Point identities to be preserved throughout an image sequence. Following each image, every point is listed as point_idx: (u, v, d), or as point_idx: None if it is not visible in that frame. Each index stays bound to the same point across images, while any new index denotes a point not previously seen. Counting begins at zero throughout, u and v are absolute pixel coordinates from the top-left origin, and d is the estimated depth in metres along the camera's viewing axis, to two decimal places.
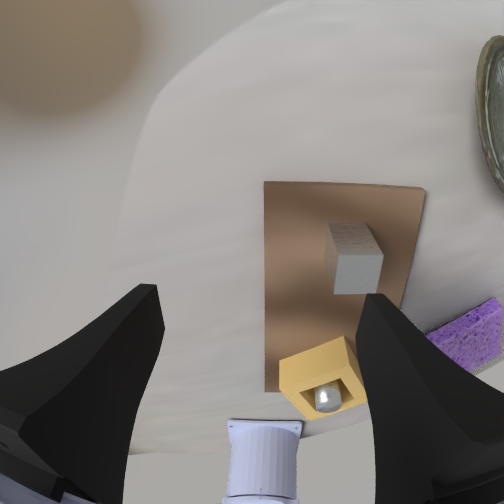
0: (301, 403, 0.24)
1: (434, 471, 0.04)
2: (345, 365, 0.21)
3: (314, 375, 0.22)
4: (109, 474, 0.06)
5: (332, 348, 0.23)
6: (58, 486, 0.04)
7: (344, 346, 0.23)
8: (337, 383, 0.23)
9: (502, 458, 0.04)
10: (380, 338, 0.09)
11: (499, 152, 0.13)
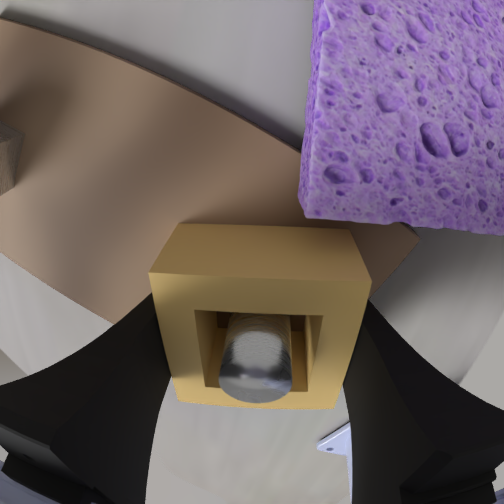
0: None
1: (402, 478, 0.04)
2: None
3: (165, 342, 0.09)
4: (133, 480, 0.06)
5: None
6: (86, 497, 0.04)
7: None
8: (253, 314, 0.09)
9: (476, 467, 0.04)
10: None
11: None
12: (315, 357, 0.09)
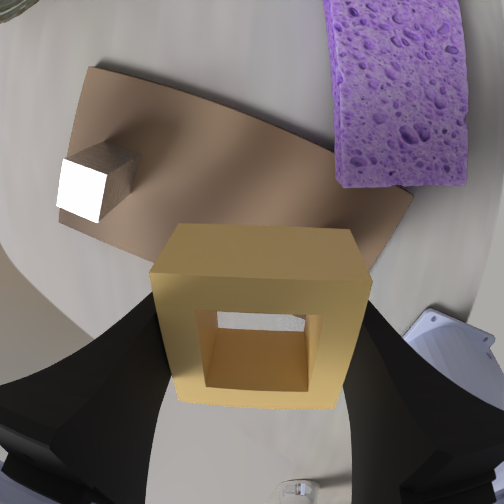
0: (251, 398, 0.10)
1: (402, 477, 0.04)
2: None
3: (166, 343, 0.09)
4: (133, 480, 0.06)
5: None
6: (86, 497, 0.04)
7: None
8: None
9: (476, 467, 0.04)
10: (357, 339, 0.09)
11: None
12: (316, 357, 0.09)
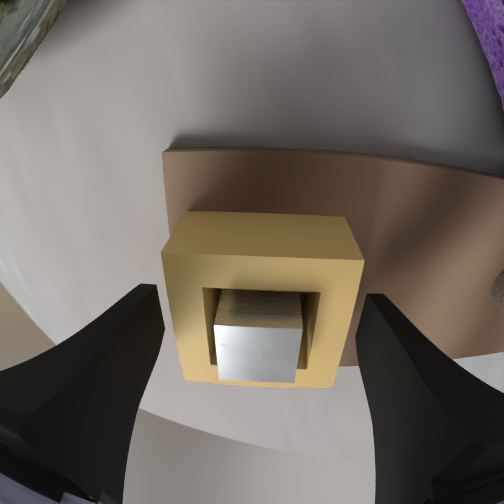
0: None
1: (434, 471, 0.04)
2: (166, 259, 0.09)
3: (174, 321, 0.10)
4: (109, 474, 0.06)
5: None
6: (58, 486, 0.04)
7: None
8: None
9: (502, 458, 0.04)
10: (380, 338, 0.09)
11: (11, 46, 0.06)
12: (314, 334, 0.10)
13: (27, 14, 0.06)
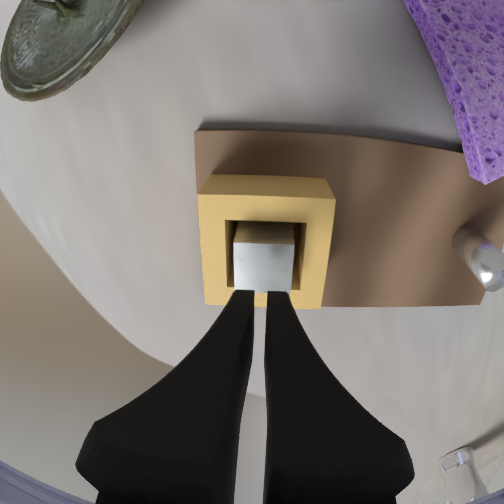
0: (259, 296, 0.15)
1: None
2: (200, 200, 0.13)
3: (202, 250, 0.14)
4: (231, 497, 0.06)
5: None
6: None
7: None
8: (478, 244, 0.14)
9: (354, 494, 0.04)
10: (268, 338, 0.09)
11: (87, 43, 0.10)
12: (303, 257, 0.14)
13: (98, 21, 0.10)
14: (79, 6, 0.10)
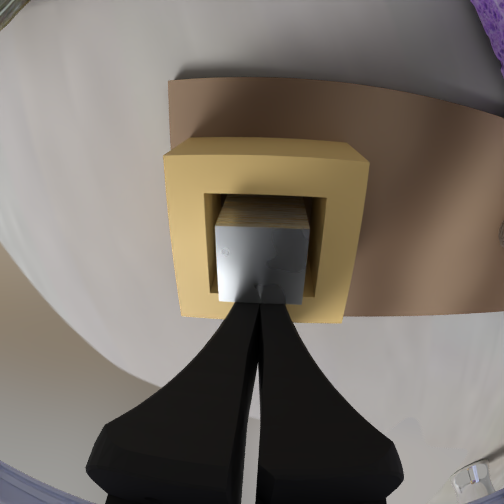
0: None
1: None
2: (168, 165, 0.09)
3: (173, 240, 0.10)
4: (240, 497, 0.06)
5: None
6: None
7: None
8: None
9: (342, 495, 0.04)
10: (260, 338, 0.09)
11: None
12: (321, 250, 0.10)
13: None
14: None
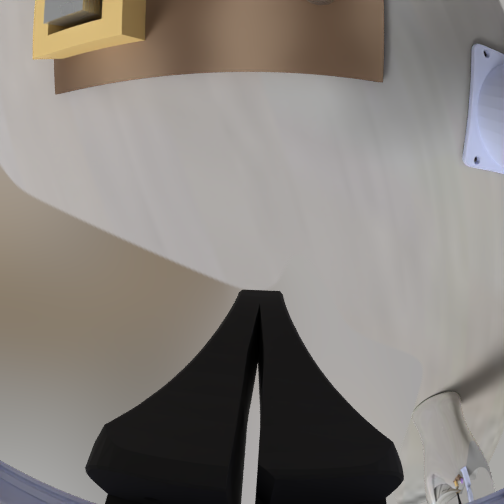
0: (70, 36, 0.11)
1: None
2: None
3: (36, 12, 0.10)
4: (239, 497, 0.06)
5: None
6: None
7: None
8: None
9: (342, 495, 0.04)
10: (260, 337, 0.09)
11: None
12: None
13: None
14: None
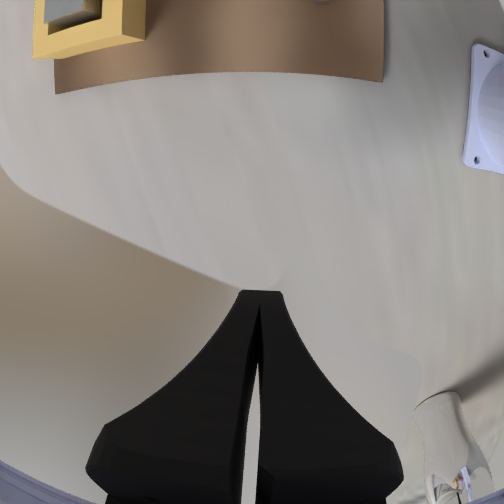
0: (70, 36, 0.11)
1: None
2: None
3: (36, 12, 0.10)
4: (239, 497, 0.06)
5: None
6: None
7: None
8: None
9: (342, 495, 0.04)
10: (260, 337, 0.09)
11: None
12: None
13: None
14: None
